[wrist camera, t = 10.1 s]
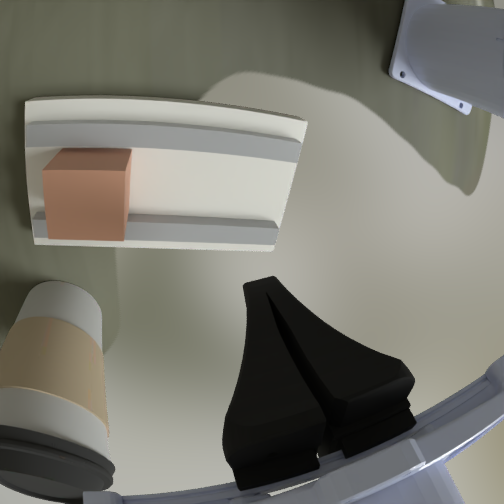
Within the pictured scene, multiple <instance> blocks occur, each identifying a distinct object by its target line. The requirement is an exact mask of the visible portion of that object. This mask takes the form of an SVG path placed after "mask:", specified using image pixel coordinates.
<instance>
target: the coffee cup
mask: <svg viewBox="0 0 504 504" xmlns="http://www.w3.org/2000/svg"><path fill="white" fill-rule="evenodd" d="M108 437H109V426H108V416H107V407H106V393H105V377H104V357H103V353H102V313H101V310H100V307H99V305H98V303H97V302H96V301H95V299H94V298H93V297H92V296H91V295H90V294H89V293H87V292H86V291H85V290H83V289H82V288H80V287H78V286H76V285H73V284H71V283H67V282H63V281H47V282H43V283H40V284H38V285H36V286H35V287H34V288H32V289H31V291H30V292H29V293H28V295H27V297H26V299H25V301H24V304H23V306H22V308H21V310H20V312H19V314H18V316H17V319H16V321H15V323H14V325H13V326H12V327H11V328H10V330H9V332H8V335H7V337H6V339H5V341H4V344H3V346H2V349H1V351H0V484H2V485H4V486H5V487H7V488H10V489H12V490H14V491H17V492H19V493H22V494H25V495H28V496H31V497H35V498H39V499H43V500H48V501H53V502H60V503H65V504H83V492H84V491H103V490H106V489H108V488H109V487H110V486H111V485H112V484H113V477H112V475H113V473H114V472H115V466H114V465H113V463H112V462H111V461H110V453H109V446H108Z"/></svg>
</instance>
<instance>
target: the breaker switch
mask: <svg viewBox="0 0 504 504" xmlns="http://www.w3.org/2000/svg"><path fill="white" fill-rule="evenodd" d="M131 159H132V149H117V148H62V149H61V150H60V151H59V152H58V153H57V154H56V155H55V157H54V158H53V159H52V160H51V161H50V162H49V163H48V164H47V165H46V166H45V167H44V169H43V170H42V178H43V193H44V205H45V215H46V223H47V231H48V239H57V240H94V241H124V238H125V231H126V225H127V218H128V212H129V196H130V175H131Z"/></svg>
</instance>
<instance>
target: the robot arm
mask: <svg viewBox="0 0 504 504" xmlns="http://www.w3.org/2000/svg"><path fill="white" fill-rule="evenodd" d="M400 72H402V76H401V77H400ZM389 75H390V76H391V77H392V78H394V79H396V80H398V81H401V82H403V83H405V84H407V85H409V86H411V87H414V88H416V89H418V90H420V91H422V92H424V93H426V94H428V95H430V96H432V97H434V98H436V99H438V100H440V101H441V102H443V103H445V104H447V105H449V106H451V107H452V108H454V109H456V110H458V111H460V112H461V113H463V114H465V115H468V114H469V113H470V111H471V107H472V106H475V107H478V108H480V109H483V110H485V111H488V112H490V113H492V114H495V115H497V116H500V117H502V118H504V9H499V8H492V7H482V6H471V5H456V4H446V3H445V2H443V1H442V0H405V2H404V7H403V12H402V17H401V21H400V26H399V30H398V34H397V39H396V43H395V47H394V51H393V55H392V59H391V63H390V67H389ZM459 104H460V106H459ZM243 290H244V296H245V302H246V307H247V326H246V339H245V347H244V354H243V360H242V364H241V369H240V373H239V377H238V381H237V384H236V387H235V391H234V394H233V397H232V400H231V403H230V405H229V408H228V411H227V413H226V416H225V422H224V429H223V438H222V445H223V451H224V455H225V458H226V461H227V462H228V464H229V465H230V467H231V468H232V470H233V473H234V477H235V482H230V483H226V484H221V485H215V486H210V487H204V488H198V489H191V490H184V491H176V492H168V493H160V494H147V495H133V496H121V495H119V494H118V493H115V492H110V491H84V492H83V504H465V502H464V501H463V499H462V497H461V495H460V493H459V491H458V489H457V487H456V485H455V483H454V481H453V480H452V477H451V475H450V474H449V472H448V470H447V468H446V466H445V464H444V463H446V462H447V461H449V460H450V459H451V458H453V457H455V456H456V455H457V454H459V453H461V451H463V450H465V449H466V448H468V447H469V446H470V445H472V444H473V443H474V442H476V441H477V440H478V439H480V438H481V437H482V436H484V435H485V434H486V433H488V432H489V431H490V430H491V429H493V428H494V427H495V426H496V425H498V424H499V423H500V422H501V421H502V420H504V355H503V356H502V357H500V358H499V359H497V360H496V361H495V362H494V363H492V364H491V365H490V367H489V368H488V369H487V371H486V372H485V374H484V375H482V376H481V377H480V378H478V379H477V380H475V381H474V382H472V383H471V384H469V385H468V386H466V387H464V388H463V389H461V390H460V391H458V392H456V393H455V394H453V395H452V396H450V397H448V398H447V399H445V400H443V401H441V402H440V403H438V404H436V405H435V406H433V407H431V408H429V409H427V410H426V411H424V412H422V413H420V414H419V415H416V416H413V414H412V413H411V411H410V409H409V407H410V406H411V405H410V403H409V401H408V399H407V397H408V395H409V393H410V392H411V390H412V388H413V386H414V383H415V378H414V377H413V375H412V373H411V372H410V370H409V369H408V368H407V367H406V365H405V364H404V363H403V362H402V361H401V360H400V359H397V358H394V357H391V356H388V355H385V354H382V353H380V352H377V351H375V350H373V349H370V348H368V347H366V346H364V345H362V344H360V343H358V342H356V341H354V340H352V339H350V338H349V337H347V336H345V335H343V334H342V333H340V332H339V331H337V330H336V329H334V328H332V327H331V326H330V325H328V324H327V323H325V322H324V321H323V320H321V319H320V318H319V317H317V316H316V315H315V314H314V313H312V312H311V311H310V310H309V309H308V308H306V307H305V306H304V305H303V304H302V303H301V302H300V301H298V300H297V299H296V298H295V297H294V296H293V295H292V294H291V293H290V292H289V291H288V290H287V289H286V288H285V287H284V286H283V285H282V284H281V282H280V281H279V280H278V279H277V278H276V277H275V276H271V277H267V278H263V279H259V280H255V281H251V282H247V283H245V284H244V285H243ZM317 453H318V456H319V458H317ZM316 478H319V479H318V480H316V481H313V482H310V483H308V484H305V485H303V486H300V487H298V488H294V489H292V490H289V491H286V492H283V493H280V494H277V495H274V496H270V494H267V493H270V492H274V491H278V490H281V489H285V488H288V487H292V486H295V485H298V484H301V483H304V482H307V481H311V480H314V479H316Z"/></svg>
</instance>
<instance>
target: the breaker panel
mask: <svg viewBox="0 0 504 504" xmlns="http://www.w3.org/2000/svg"><path fill="white" fill-rule="evenodd" d="M307 124H308V122H307V121H305V120H303V119H302V118H300V117H297V116H292V115H287V114H281V113H277V112H271V111H265V110H260V109H254V108H248V107H240V106H234V105H227V104H220V103H212V102H203V101H194V100H184V99H173V98H159V97H142V96H114V95H78V96H51V97H35V98H32V99H30V100H28V101H25V160H26V176H27V189H28V199H29V208H30V216H31V223H32V230H33V237H34V243H35V245H64V246H99V247H134V248H166V249H200V250H201V249H202V250H235V251H267V252H273V250H274V247H275V243H276V239H277V236H278V232H279V229H280V225H281V222H282V218H283V214H284V211H285V207H286V203H287V200H288V196H289V192H290V189H291V185H292V181H293V177H294V174H295V170H296V166H297V162H298V158H299V155H300V151H301V147H302V143H303V140H304V136H305V132H306V128H307ZM62 148H117V149H132V159H131V175H130V196H129V212H128V218H127V225H126V231H125V238H124V241H94V240H57V239H48V231H47V223H46V215H45V205H44V193H43V178H42V170H43V169H44V167H45V166H46V165H47V164H48V163H49V162H50V161H51V160H52V159H53V158H54V157H55V155H56V154H57V153H58V152H59V151H60V150H61V149H62Z"/></svg>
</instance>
